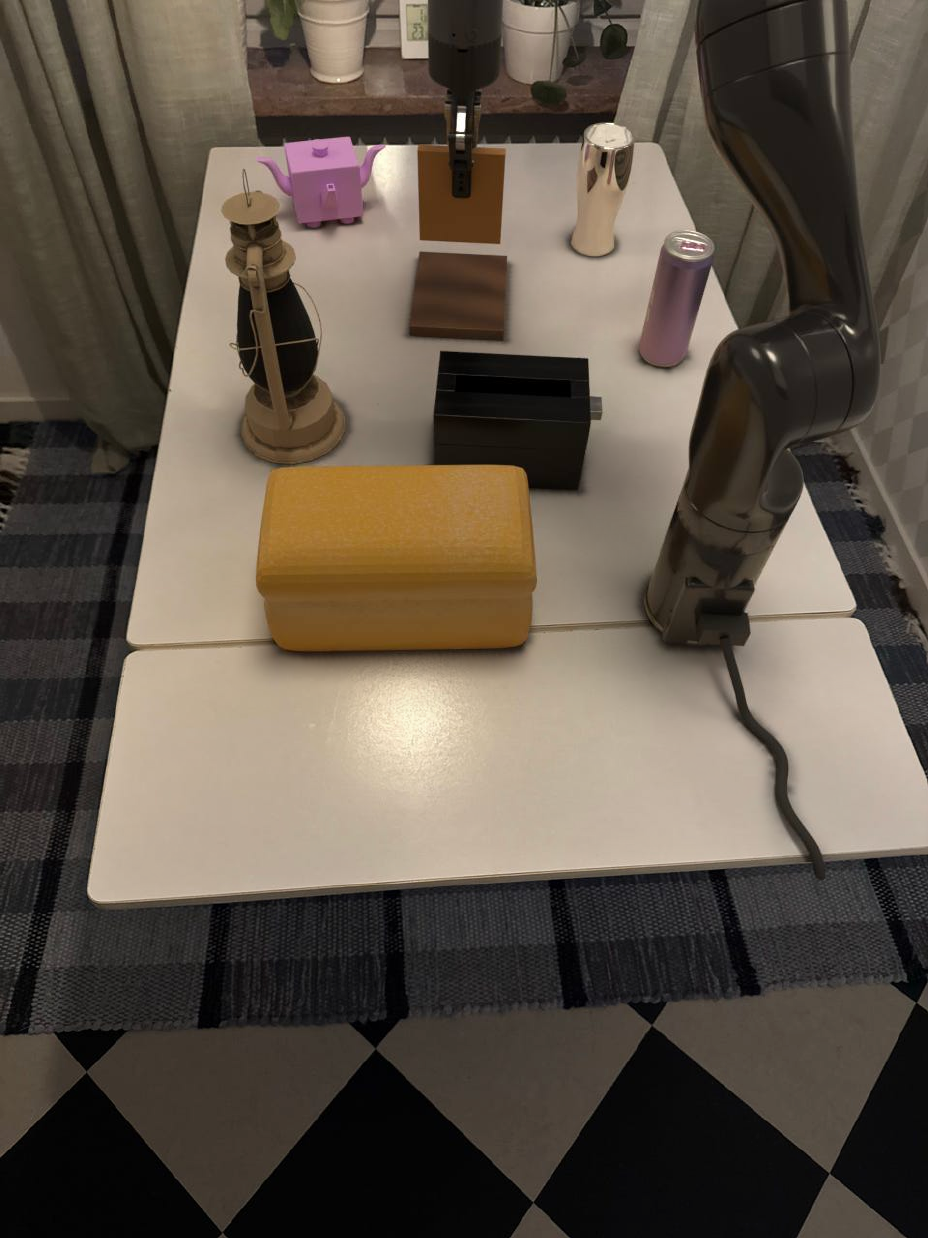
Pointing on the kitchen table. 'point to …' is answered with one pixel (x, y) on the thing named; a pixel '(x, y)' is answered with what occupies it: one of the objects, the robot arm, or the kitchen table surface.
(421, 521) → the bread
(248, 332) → the lantern
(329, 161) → the teapot
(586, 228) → the beer glass
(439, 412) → the toaster
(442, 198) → the toast
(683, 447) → the kitchen table surface
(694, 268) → the beverage can
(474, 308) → the board
